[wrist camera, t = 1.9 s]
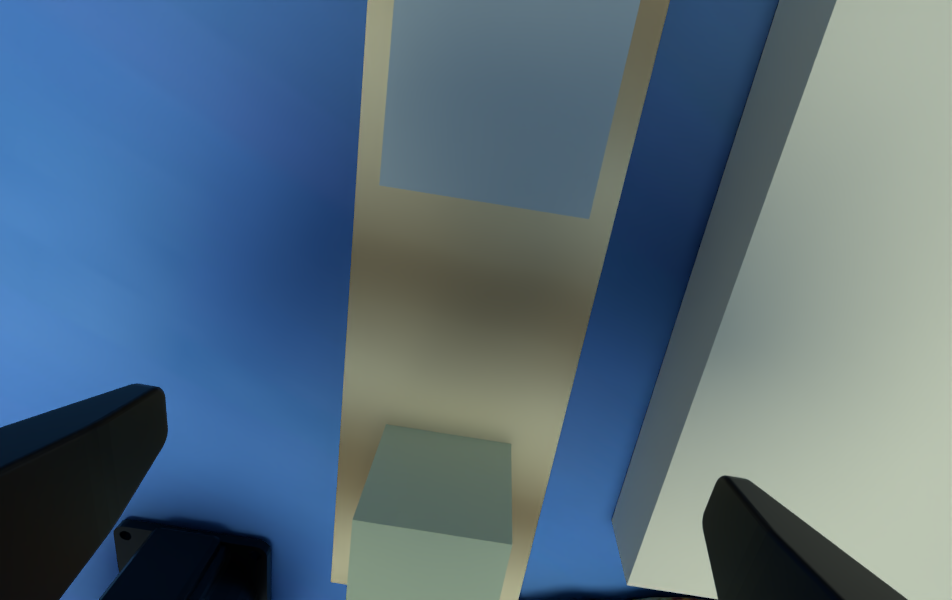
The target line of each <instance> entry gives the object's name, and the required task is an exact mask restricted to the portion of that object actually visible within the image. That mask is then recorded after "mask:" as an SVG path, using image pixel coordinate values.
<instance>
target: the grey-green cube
mask: <svg viewBox="0 0 952 600" xmlns="http://www.w3.org/2000/svg"><path fill="white" fill-rule="evenodd" d="M511 549H512V472H511V444H508V443H502V442H496V441H489V440H483V439H477V438H470V437H464V436H458V435H451V434H445V433H439V432H432V431H426V430H420V429H413V428H407V427H401V426H394V425H388V424H386V426H385V429H384V431H383V434H382V437H381V440H380V443H379V446H378V448H377V451H376V454H375V457H374V460H373V463H372V466H371V468H370V471H369V474H368V477H367V480H366V483H365V485H364V488H363V491H362V494H361V497H360V500H359V503H358V505H357V508H356V511H355V514H354V517H353V520H352V531H351V544H350V556H349V568H348V580H347V593H346V600H499V599H500V595H501V591H502V587H503V582H504V578H505V574H506V570H507V566H508V561H509V557H510V553H511Z"/></svg>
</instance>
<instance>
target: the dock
mask: <svg viewBox="0 0 952 600" xmlns="http://www.w3.org/2000/svg"><path fill="white" fill-rule="evenodd" d="M724 475H727V476H734V477H740V478H745V479H748V480H750V481H751V482H753V483H754V484H755V485H757V486H758V487H759V488H761V489H762V490H763V491H765V492H766V493H767V494H769V495H770V496H771V497H773V498H774V499H775V500H777V501H778V502H779V503H781V504H782V505H783V506H785V507H786V508H787V509H789V510H790V511H791V512H792V513H794V514H795V515H796V516H798V517H799V518H800V519H802V520H803V521H804V522H806V523H807V524H808V525H810V526H811V527H812V528H814V529H815V530H816V531H818V532H819V533H820V534H822V535H823V536H824V537H826V538H827V539H828V540H830V541H831V542H832V543H834V544H835V545H836V546H838V547H839V548H840V549H842V550H843V551H844V552H846V553H847V554H848V555H850V556H851V557H852V558H853V559H855V560H856V561H857V562H859V563H860V564H861V565H863V566H864V567H865V568H867V569H868V570H869V571H871V572H872V573H873V574H875V575H876V576H877V577H879V578H880V579H881V580H883V581H884V582H885V583H887V584H888V585H889V586H891V587H892V588H893V589H895V590H896V591H897V592H899V593H900V594H901V595H903V596H904V597H905V598H907V599H908V600H952V0H779V3H778V6H777V9H776V12H775V15H774V19H773V22H772V25H771V28H770V31H769V34H768V37H767V40H766V43H765V46H764V50H763V53H762V56H761V59H760V62H759V65H758V68H757V71H756V74H755V77H754V81H753V84H752V87H751V90H750V93H749V96H748V99H747V102H746V105H745V108H744V112H743V115H742V118H741V121H740V124H739V127H738V130H737V133H736V136H735V139H734V143H733V146H732V149H731V152H730V155H729V158H728V161H727V164H726V167H725V170H724V174H723V177H722V180H721V183H720V186H719V189H718V192H717V195H716V198H715V201H714V205H713V208H712V211H711V214H710V217H709V220H708V223H707V226H706V229H705V232H704V236H703V239H702V242H701V245H700V248H699V251H698V254H697V257H696V260H695V263H694V267H693V270H692V273H691V276H690V279H689V282H688V285H687V288H686V291H685V294H684V298H683V301H682V304H681V307H680V310H679V313H678V316H677V319H676V322H675V325H674V329H673V332H672V335H671V338H670V341H669V344H668V347H667V350H666V353H665V357H664V360H663V363H662V366H661V369H660V372H659V375H658V378H657V381H656V384H655V388H654V391H653V394H652V397H651V400H650V403H649V406H648V409H647V412H646V415H645V419H644V422H643V425H642V428H641V431H640V434H639V437H638V440H637V443H636V446H635V450H634V453H633V456H632V459H631V462H630V465H629V468H628V471H627V474H626V477H625V481H624V484H623V487H622V490H621V493H620V496H619V499H618V502H617V505H616V508H615V512H614V515H613V518H612V525H613V529H614V533H615V537H616V541H617V546H618V550H619V554H620V558H621V562H622V567H623V571H624V575H625V579H626V583H627V585H629V586H635V587H642V588H648V589H654V590H661V591H667V592H674V593H680V594H687V595H693V596H700V597H706V598H712V599H718V597H717V592H716V588H715V583H714V579H713V574H712V570H711V565H710V560H709V556H708V551H707V547H706V542H705V538H704V533H703V528H702V518H703V513H704V510H705V508H706V506H707V503H708V501H709V498H710V496H711V493H712V491H713V488H714V486H715V483H716V481H717V480H718V478H719V477H721V476H724Z"/></svg>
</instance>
